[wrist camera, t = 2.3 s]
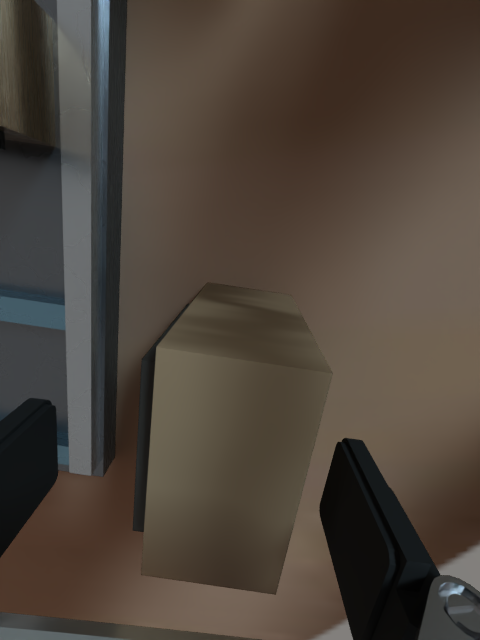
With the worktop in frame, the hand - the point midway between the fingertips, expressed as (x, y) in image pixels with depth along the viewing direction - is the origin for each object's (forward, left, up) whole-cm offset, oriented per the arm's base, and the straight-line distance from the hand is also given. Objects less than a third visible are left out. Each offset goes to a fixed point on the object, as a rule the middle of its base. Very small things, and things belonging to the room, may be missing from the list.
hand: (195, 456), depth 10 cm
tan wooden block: (-1, 0, -8) cm, 8 cm away
